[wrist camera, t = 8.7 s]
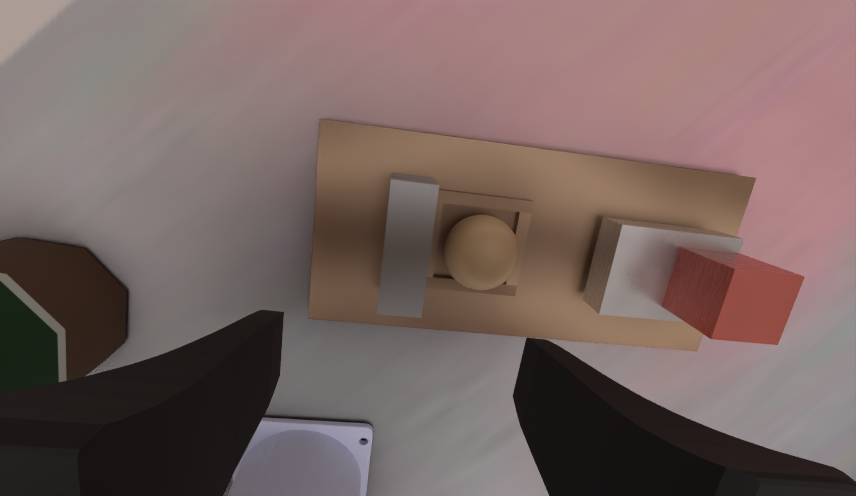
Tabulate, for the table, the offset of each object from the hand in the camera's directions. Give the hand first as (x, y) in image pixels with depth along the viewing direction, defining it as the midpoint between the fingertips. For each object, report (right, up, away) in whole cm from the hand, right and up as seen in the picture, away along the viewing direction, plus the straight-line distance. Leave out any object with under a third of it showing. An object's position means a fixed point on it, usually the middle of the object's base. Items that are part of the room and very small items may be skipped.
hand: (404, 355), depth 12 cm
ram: (+12, +2, +9) cm, 15 cm away
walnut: (+3, +3, +9) cm, 10 cm away
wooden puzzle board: (+6, +3, +10) cm, 12 cm away
